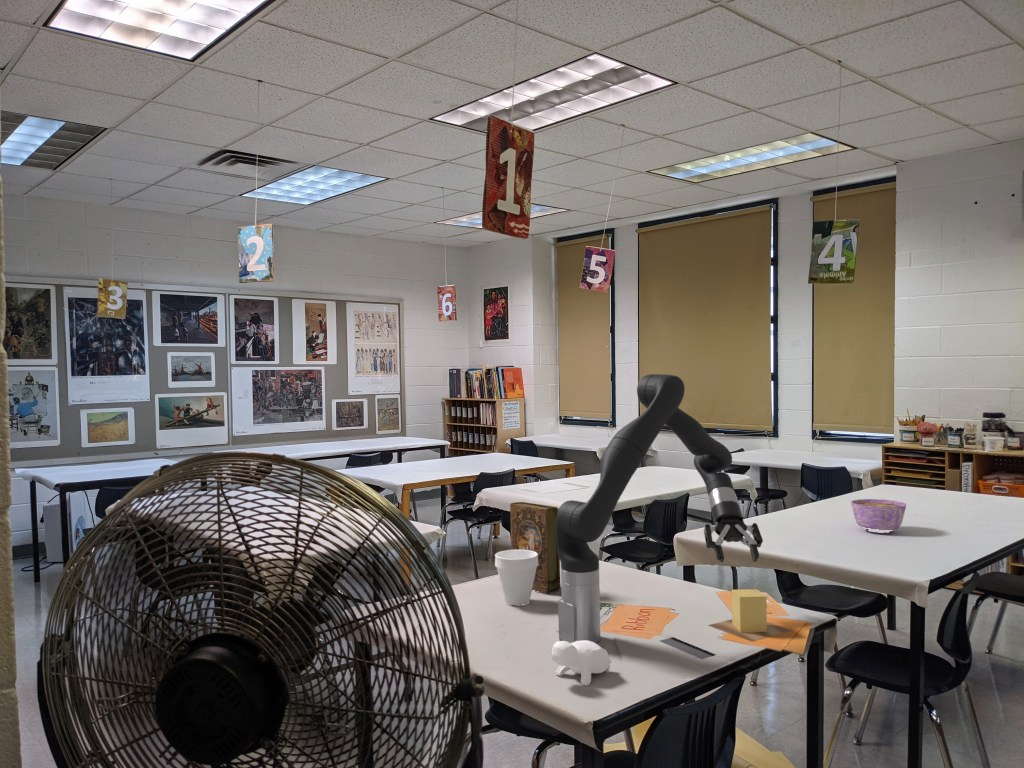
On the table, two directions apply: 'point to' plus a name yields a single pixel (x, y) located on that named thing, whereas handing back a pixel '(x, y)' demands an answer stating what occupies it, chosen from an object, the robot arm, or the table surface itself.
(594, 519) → the robot arm
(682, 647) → the mat
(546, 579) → the book
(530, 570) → the cup
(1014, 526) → the table surface
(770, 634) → the board
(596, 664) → the white animal figurine
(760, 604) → the yellow block
